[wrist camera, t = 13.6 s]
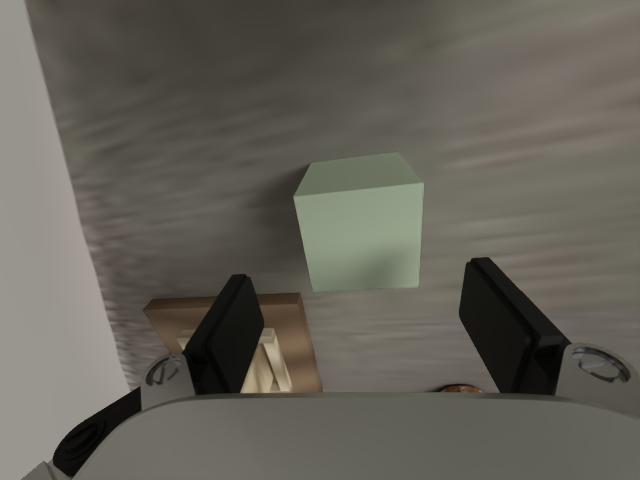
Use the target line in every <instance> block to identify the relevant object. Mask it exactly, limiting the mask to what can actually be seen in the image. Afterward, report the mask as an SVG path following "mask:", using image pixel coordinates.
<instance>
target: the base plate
mask: <svg viewBox="0 0 640 480" xmlns="http://www.w3.org/2000/svg"><path fill="white" fill-rule="evenodd" d="M256 296H257V299H258V302H259V306H260V309H261V312H262V315H263V318H264V328H263V331H262V334H261V337H260V340H259V342H258V344H260V343H261V344H262V347H263V350H264V352H265V355H266V358H267V361H268V363H269V366H270V369H271V372H272V374H273V381H272V385H271V388H270V392H269V393H299V392H323V389H322V385H321V380H320V376H319V372H318V367H317V363H316V359H315V355H314V350H313V346H312V342H311V337H310V333H309V329H308V324H307V320H306V316H305V311H304V307H303V303H302V298H301V294H300V293H288V294H265V295H256ZM216 298H217V297H198V298H176V299H154V300H152V301H151V302H150V303H149V304H148V305H147V306H146V307H145V308H144V309H143V311H144V313H145V314H146V316H147V317H148V319H149V320H150V322H151V324H152V325H153V327H154V328H155V330H156V331H157V333H158V334H159V336H160V337H161V339H162V341H163V342H164V344H165V345H166V347H167V348H168V350H169V351H170V353H182V352H183V350H184V349H185V346H186V344H187V343H188V341H189V340H190V338H191V337H192V335H193V333H194V332H195V330H196V329H197V327H198V326H199V324H200V323H201V321H202V320H203V318H204V317H205V315H206V314H207V312H208V311H209V309H210V308H211V306H212V305H213V303H214V302H215V300H216Z"/></svg>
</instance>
